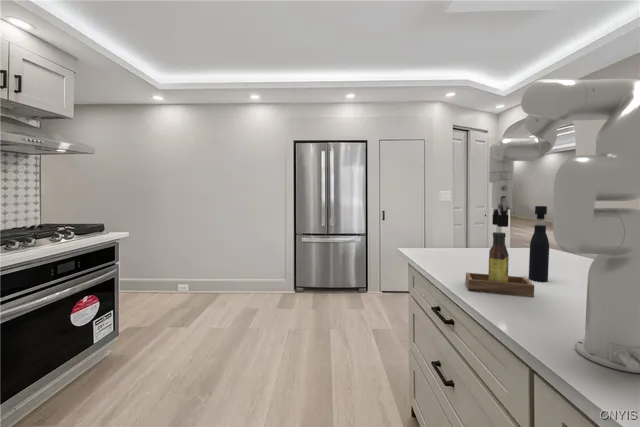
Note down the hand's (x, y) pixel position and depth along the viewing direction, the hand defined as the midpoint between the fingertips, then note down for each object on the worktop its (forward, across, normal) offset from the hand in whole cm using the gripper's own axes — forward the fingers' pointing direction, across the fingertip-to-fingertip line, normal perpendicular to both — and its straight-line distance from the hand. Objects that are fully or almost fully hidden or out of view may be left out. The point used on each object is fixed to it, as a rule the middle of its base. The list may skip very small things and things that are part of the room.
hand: (499, 225), depth 112 cm
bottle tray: (+23, +1, 0) cm, 23 cm away
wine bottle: (+23, +21, -18) cm, 36 cm away
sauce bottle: (+23, +1, 0) cm, 23 cm away
